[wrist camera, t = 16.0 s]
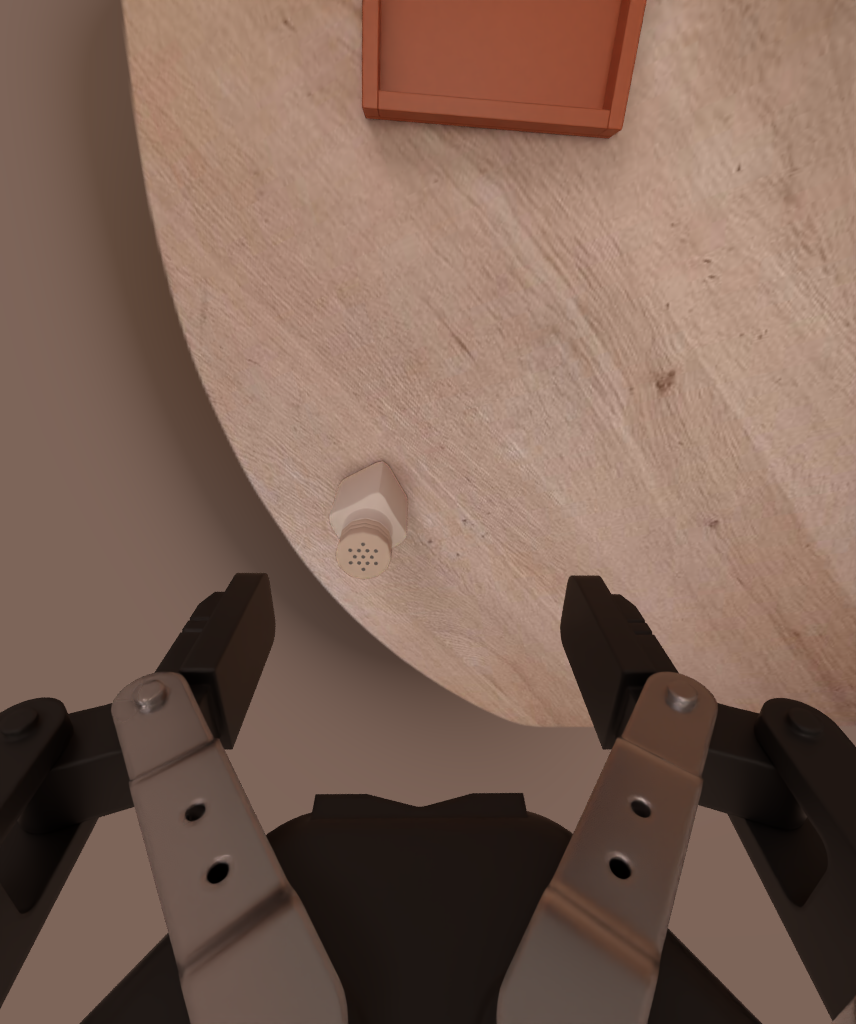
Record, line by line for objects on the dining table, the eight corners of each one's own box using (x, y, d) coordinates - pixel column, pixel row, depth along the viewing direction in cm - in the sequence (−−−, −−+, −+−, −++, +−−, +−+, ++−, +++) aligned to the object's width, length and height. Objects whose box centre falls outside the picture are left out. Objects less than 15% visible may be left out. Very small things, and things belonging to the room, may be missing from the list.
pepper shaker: (384, 455, 36) (376, 514, 27) (410, 499, 37) (410, 568, 29) (337, 479, 37) (314, 544, 28) (365, 521, 38) (351, 595, 30)
